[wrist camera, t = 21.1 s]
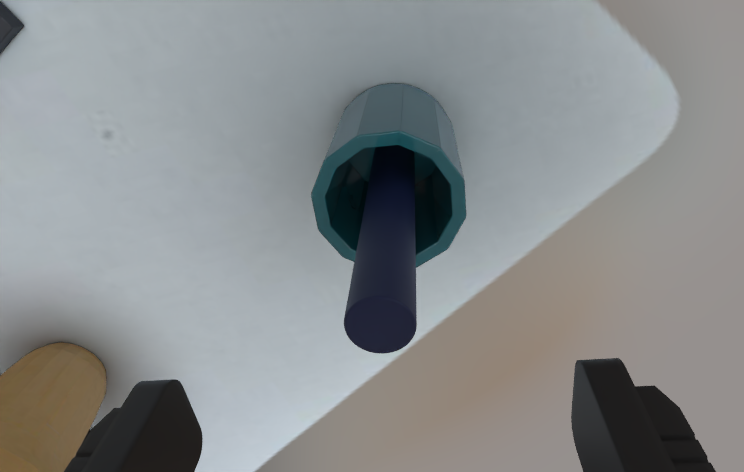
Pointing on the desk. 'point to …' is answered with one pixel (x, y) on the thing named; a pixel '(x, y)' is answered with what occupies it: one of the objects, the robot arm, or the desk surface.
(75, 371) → the ice cream cone
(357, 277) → the pen
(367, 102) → the pen cup
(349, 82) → the desk surface
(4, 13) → the sketch pad
